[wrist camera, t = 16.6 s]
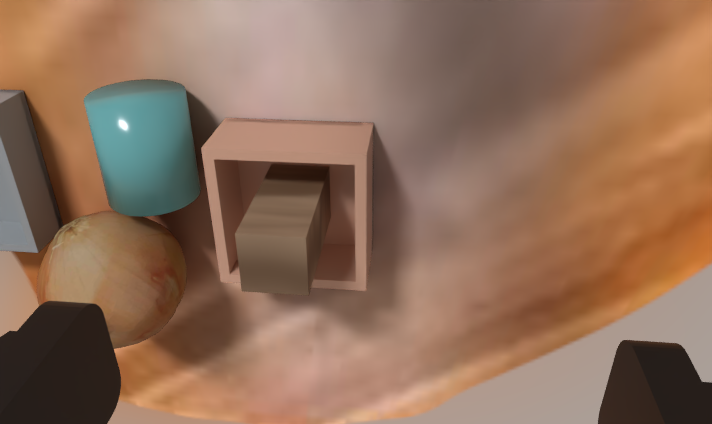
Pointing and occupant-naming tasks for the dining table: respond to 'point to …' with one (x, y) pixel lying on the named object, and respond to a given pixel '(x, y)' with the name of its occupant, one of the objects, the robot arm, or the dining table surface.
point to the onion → (116, 272)
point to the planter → (295, 147)
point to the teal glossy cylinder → (144, 146)
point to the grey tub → (23, 181)
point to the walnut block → (284, 230)
